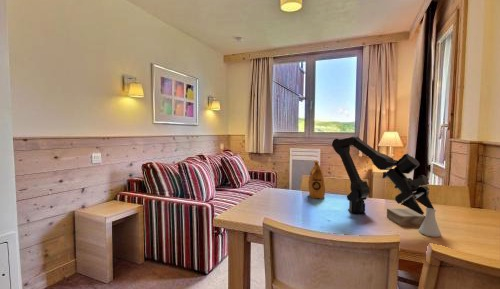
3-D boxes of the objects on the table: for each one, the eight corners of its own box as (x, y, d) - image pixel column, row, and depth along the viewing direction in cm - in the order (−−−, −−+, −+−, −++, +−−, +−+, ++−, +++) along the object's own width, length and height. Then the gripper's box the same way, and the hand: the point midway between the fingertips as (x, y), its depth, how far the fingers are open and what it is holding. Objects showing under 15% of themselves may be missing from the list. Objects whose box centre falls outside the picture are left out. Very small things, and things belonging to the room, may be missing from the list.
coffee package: (307, 198, 157) (308, 162, 155) (308, 193, 169) (309, 159, 167) (324, 199, 154) (325, 162, 153) (324, 194, 166) (325, 160, 165)
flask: (414, 230, 107) (415, 206, 106) (431, 230, 108) (432, 206, 107) (428, 237, 100) (429, 212, 99) (445, 237, 100) (446, 211, 100)
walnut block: (400, 225, 113) (400, 216, 112) (386, 216, 124) (387, 208, 123) (425, 225, 113) (425, 216, 112) (409, 216, 124) (410, 208, 123)
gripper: (403, 170, 102) (435, 205, 94) (424, 167, 113) (454, 197, 104) (383, 187, 109) (411, 220, 101) (405, 182, 120) (431, 211, 111)
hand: (428, 212), depth 104 cm, fingers open, 9 cm apart
